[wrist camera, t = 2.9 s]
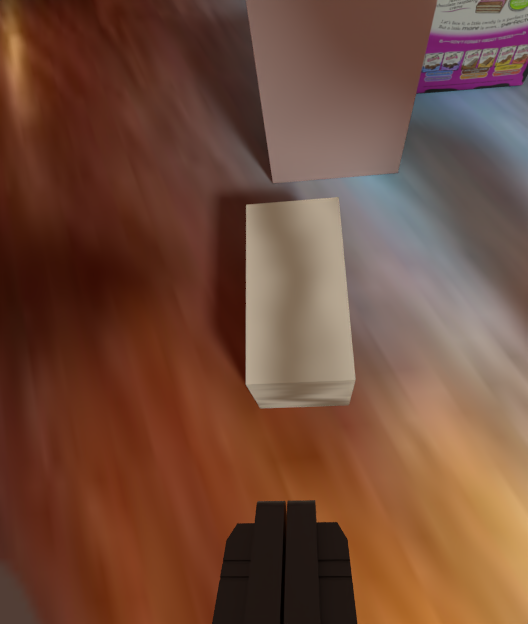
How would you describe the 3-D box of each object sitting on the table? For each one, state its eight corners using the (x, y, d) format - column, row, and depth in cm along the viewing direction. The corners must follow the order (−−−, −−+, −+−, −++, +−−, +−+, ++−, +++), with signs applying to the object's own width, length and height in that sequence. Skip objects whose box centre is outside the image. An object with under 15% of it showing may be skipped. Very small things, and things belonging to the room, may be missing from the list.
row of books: (381, 68, 50) (411, -149, 33) (397, 172, 44) (443, -25, 28) (270, 79, 51) (246, -125, 35) (273, 183, 46) (245, -1, 29)
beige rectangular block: (335, 251, 42) (338, 197, 35) (348, 405, 37) (355, 379, 29) (259, 256, 43) (246, 204, 35) (260, 408, 37) (245, 384, 30)
